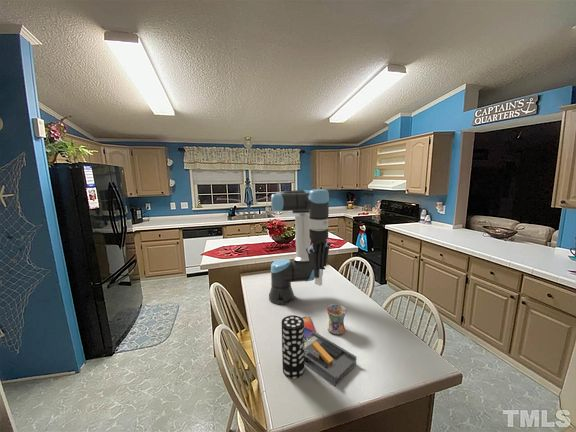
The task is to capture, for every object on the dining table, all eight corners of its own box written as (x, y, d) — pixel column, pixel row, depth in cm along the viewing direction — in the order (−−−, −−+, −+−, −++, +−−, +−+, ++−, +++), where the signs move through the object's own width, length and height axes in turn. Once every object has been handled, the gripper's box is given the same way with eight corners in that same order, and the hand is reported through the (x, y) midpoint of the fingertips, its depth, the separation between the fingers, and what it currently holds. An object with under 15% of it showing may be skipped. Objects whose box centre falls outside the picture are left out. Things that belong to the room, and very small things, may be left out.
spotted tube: (281, 362, 96) (280, 316, 92) (302, 360, 96) (302, 314, 93) (283, 379, 88) (282, 329, 84) (305, 377, 88) (305, 328, 85)
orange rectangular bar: (311, 346, 96) (312, 343, 95) (315, 343, 98) (316, 340, 97) (328, 364, 91) (329, 362, 90) (332, 361, 92) (333, 359, 92)
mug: (348, 335, 111) (349, 314, 109) (328, 336, 110) (328, 315, 108) (341, 320, 122) (341, 301, 121) (323, 321, 122) (323, 301, 120)
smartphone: (301, 339, 109) (301, 337, 109) (295, 319, 124) (295, 318, 124) (317, 337, 110) (317, 335, 110) (309, 318, 125) (309, 316, 125)
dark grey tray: (291, 353, 100) (291, 345, 99) (313, 337, 110) (313, 329, 109) (335, 386, 84) (335, 376, 84) (356, 364, 94) (356, 355, 93)
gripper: (315, 233, 88) (315, 292, 93) (336, 227, 97) (335, 282, 101) (300, 230, 94) (301, 286, 98) (321, 224, 103) (321, 276, 107)
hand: (318, 284), depth 100 cm, fingers closed
